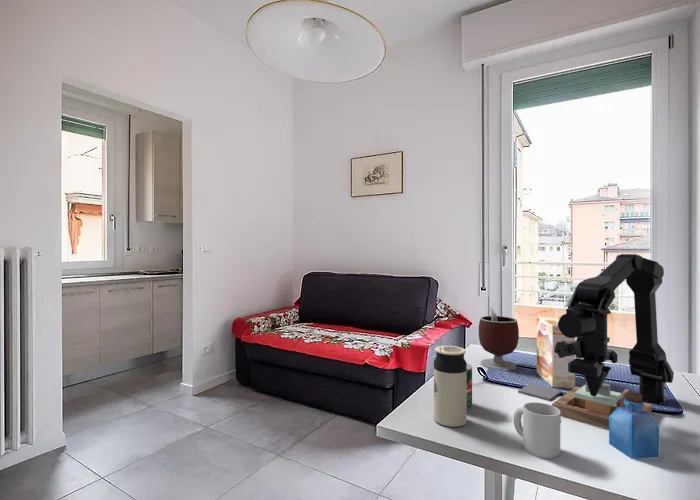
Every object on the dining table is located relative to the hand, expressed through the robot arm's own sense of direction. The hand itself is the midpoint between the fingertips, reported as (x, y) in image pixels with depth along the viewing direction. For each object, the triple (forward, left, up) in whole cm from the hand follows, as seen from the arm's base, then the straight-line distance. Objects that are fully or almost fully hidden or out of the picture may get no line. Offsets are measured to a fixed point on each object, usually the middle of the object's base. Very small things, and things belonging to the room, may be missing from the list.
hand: (593, 395), depth 98 cm
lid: (-4, 0, -1) cm, 4 cm away
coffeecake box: (-26, -18, -7) cm, 32 cm away
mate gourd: (-29, -39, -7) cm, 49 cm away
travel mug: (+25, -25, -7) cm, 36 cm away
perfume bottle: (+9, +10, -7) cm, 15 cm away
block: (-4, 0, -7) cm, 8 cm away
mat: (-11, -17, -7) cm, 21 cm away
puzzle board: (-7, 0, -7) cm, 10 cm away
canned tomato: (+15, -29, -7) cm, 33 cm away
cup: (+23, -5, -7) cm, 25 cm away
